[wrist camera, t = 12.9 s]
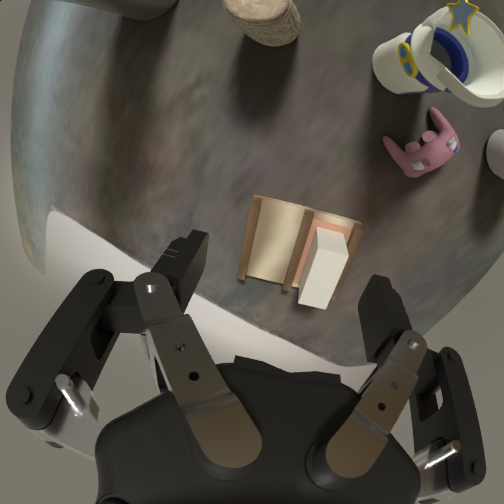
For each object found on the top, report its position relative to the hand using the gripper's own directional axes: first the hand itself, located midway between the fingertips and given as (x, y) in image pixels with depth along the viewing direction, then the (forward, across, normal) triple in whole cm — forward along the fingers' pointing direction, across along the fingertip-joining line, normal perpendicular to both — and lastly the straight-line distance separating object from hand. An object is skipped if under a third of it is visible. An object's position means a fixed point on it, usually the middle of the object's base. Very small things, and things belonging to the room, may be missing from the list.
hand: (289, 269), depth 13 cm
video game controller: (+26, -16, -7) cm, 31 cm away
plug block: (+24, -8, +13) cm, 29 cm away
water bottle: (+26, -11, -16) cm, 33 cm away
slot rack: (+26, -4, +13) cm, 29 cm away
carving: (+27, +6, -16) cm, 32 cm away
